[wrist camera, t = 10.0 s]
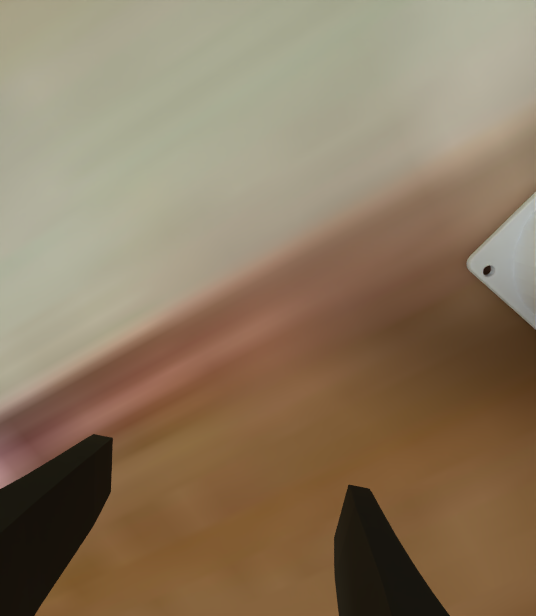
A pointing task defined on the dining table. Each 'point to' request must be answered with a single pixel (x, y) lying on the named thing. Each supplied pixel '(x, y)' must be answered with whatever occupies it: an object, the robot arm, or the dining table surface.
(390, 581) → the robot arm
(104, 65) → the dining table surface
